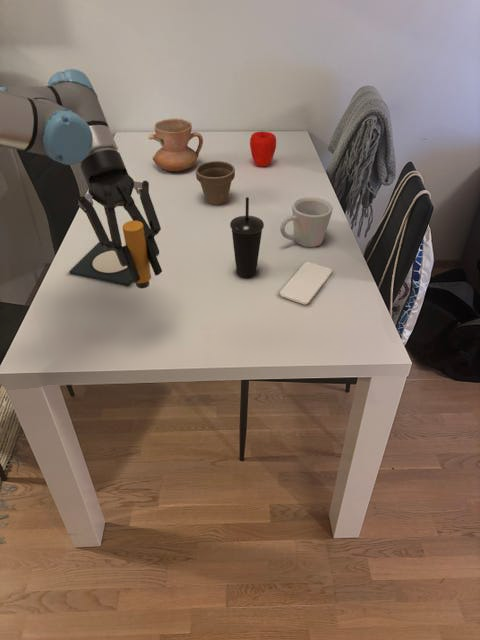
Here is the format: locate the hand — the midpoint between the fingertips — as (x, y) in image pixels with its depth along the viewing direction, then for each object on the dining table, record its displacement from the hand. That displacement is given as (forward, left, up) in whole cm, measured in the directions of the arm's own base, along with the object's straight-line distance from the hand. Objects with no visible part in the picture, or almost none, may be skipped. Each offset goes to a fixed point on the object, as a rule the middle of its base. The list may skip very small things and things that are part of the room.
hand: (148, 277), depth 87 cm
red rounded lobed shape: (-4, +93, -17) cm, 94 cm away
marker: (-3, +2, -4) cm, 6 cm away
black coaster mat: (-23, +23, -17) cm, 37 cm away
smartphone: (+25, +30, -17) cm, 42 cm away
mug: (+20, +48, -17) cm, 54 cm away
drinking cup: (+10, +29, -17) cm, 36 cm away
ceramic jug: (-31, +82, -17) cm, 89 cm away
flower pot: (-10, +63, -17) cm, 66 cm away
